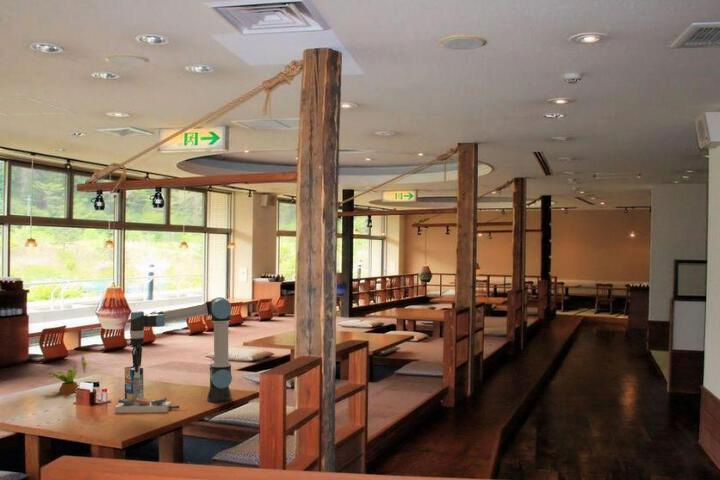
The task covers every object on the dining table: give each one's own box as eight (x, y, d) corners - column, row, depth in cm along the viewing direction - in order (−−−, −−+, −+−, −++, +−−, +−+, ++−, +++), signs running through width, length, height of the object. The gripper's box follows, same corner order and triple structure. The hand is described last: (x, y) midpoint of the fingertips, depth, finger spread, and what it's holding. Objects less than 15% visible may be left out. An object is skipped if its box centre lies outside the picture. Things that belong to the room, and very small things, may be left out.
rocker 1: (134, 403, 399) (134, 400, 399) (131, 405, 395) (132, 401, 395) (120, 400, 399) (121, 397, 399) (118, 402, 395) (118, 399, 395)
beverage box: (133, 406, 409) (132, 369, 409) (124, 403, 417) (124, 367, 417) (143, 404, 414) (143, 368, 414) (135, 401, 422) (134, 366, 422)
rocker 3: (166, 400, 400) (166, 396, 400) (164, 401, 395) (164, 398, 395) (153, 403, 399) (152, 399, 399) (151, 404, 395) (150, 401, 395)
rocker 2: (150, 403, 399) (150, 399, 399) (148, 404, 395) (148, 401, 395) (136, 400, 399) (137, 397, 399) (134, 402, 395) (135, 398, 395)
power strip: (181, 407, 404) (181, 400, 404) (176, 412, 393) (176, 404, 393) (121, 408, 404) (121, 400, 404) (114, 412, 393) (114, 405, 393)
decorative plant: (83, 394, 441) (83, 356, 441) (44, 396, 436) (43, 358, 436) (90, 386, 468) (90, 350, 468) (52, 388, 462) (52, 351, 462)
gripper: (134, 336, 404) (134, 375, 404) (127, 339, 391) (127, 379, 391) (146, 336, 404) (146, 375, 404) (140, 339, 391) (140, 379, 391)
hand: (137, 377), depth 397 cm, fingers closed
